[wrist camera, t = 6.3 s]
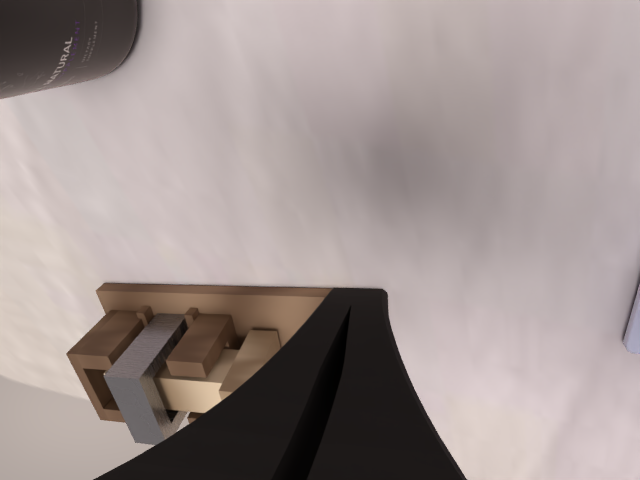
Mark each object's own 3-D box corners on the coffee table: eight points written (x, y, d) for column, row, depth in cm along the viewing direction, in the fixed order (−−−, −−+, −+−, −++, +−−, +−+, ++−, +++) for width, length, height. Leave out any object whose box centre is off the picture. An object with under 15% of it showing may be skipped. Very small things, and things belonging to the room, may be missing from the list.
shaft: (276, 331, 23) (249, 393, 20) (286, 378, 25) (263, 443, 21) (136, 324, 25) (87, 379, 22) (153, 368, 27) (111, 426, 23)
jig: (381, 289, 22) (373, 351, 18) (387, 397, 26) (381, 468, 22) (104, 283, 26) (47, 332, 22) (144, 377, 30) (101, 434, 26)
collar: (187, 314, 25) (138, 379, 20) (207, 376, 27) (167, 446, 23) (157, 313, 25) (103, 376, 21) (179, 374, 27) (135, 442, 23)
